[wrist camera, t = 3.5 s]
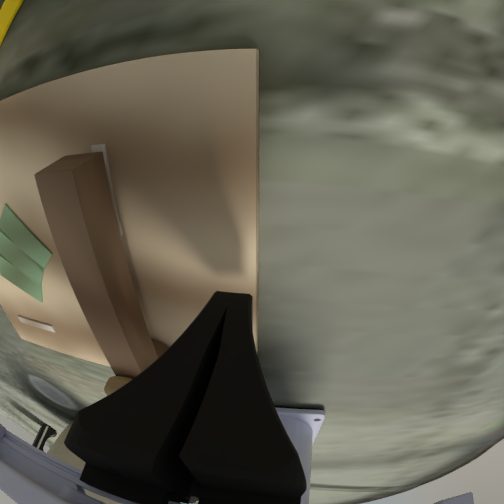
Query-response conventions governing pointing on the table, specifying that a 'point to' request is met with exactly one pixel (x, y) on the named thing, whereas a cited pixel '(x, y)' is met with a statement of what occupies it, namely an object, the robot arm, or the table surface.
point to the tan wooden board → (137, 189)
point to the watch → (8, 15)
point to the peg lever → (97, 262)
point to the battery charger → (43, 436)
